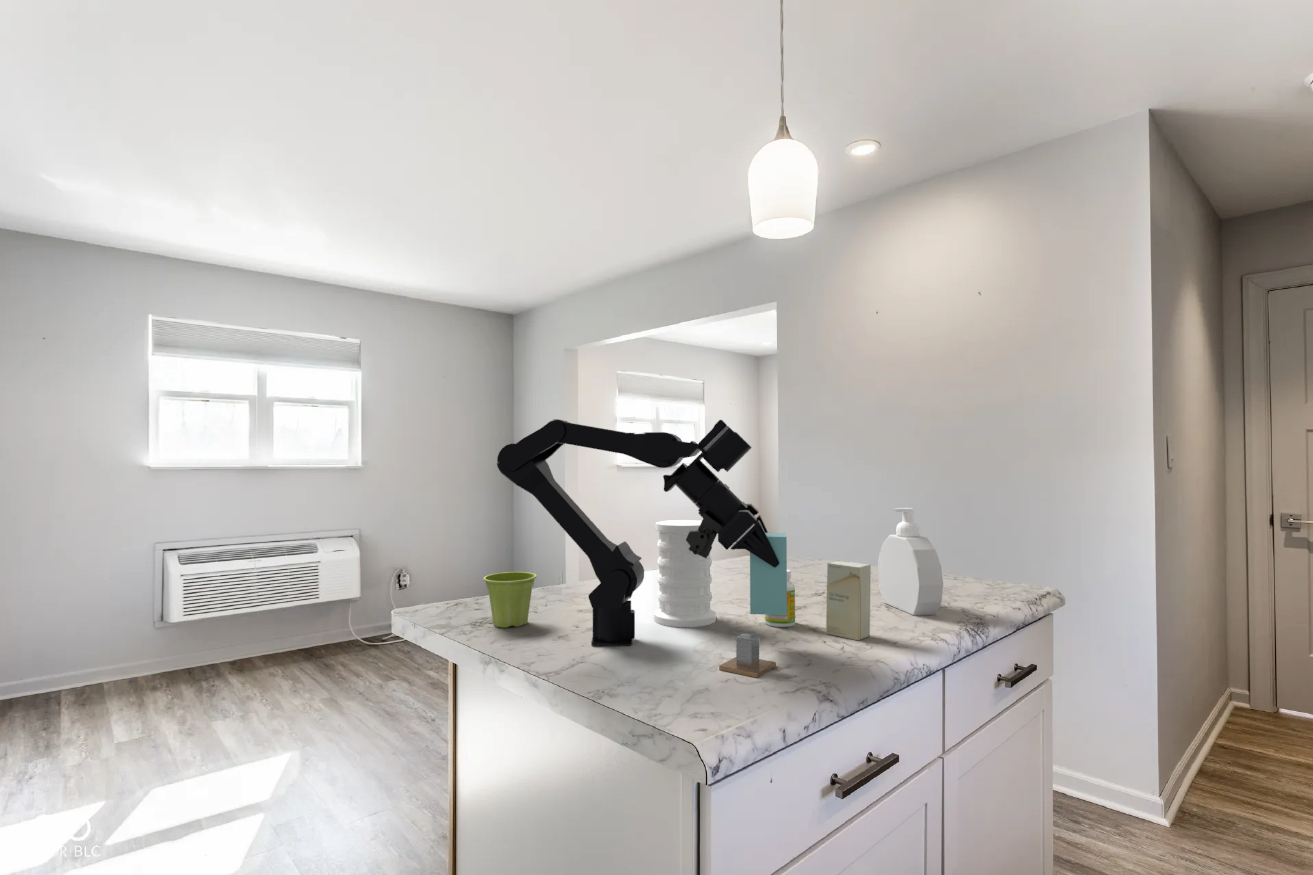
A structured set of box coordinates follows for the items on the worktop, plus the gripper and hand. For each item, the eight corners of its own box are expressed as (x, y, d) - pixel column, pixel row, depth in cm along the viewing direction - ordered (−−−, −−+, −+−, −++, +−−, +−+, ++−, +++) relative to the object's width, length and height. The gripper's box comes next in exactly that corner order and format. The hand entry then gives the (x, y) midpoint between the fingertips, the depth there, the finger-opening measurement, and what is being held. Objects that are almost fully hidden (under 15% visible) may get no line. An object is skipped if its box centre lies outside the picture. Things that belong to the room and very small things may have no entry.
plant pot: (515, 633, 115) (515, 582, 115) (472, 627, 119) (472, 578, 119) (546, 620, 124) (546, 573, 124) (505, 615, 128) (506, 570, 128)
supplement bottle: (795, 628, 118) (794, 573, 118) (764, 626, 119) (764, 572, 119) (795, 621, 123) (794, 568, 123) (765, 619, 124) (765, 567, 124)
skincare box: (825, 634, 114) (824, 562, 114) (838, 629, 117) (837, 559, 117) (860, 641, 109) (859, 566, 110) (872, 635, 113) (871, 563, 113)
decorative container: (707, 629, 117) (707, 526, 118) (645, 624, 121) (645, 524, 121) (721, 614, 128) (721, 520, 129) (664, 610, 132) (664, 519, 132)
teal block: (750, 613, 103) (749, 536, 104) (751, 605, 109) (751, 532, 109) (787, 615, 102) (786, 537, 103) (786, 607, 108) (785, 532, 108)
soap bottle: (876, 600, 140) (874, 505, 141) (899, 599, 141) (898, 505, 141) (918, 618, 124) (916, 511, 125) (944, 617, 125) (942, 511, 126)
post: (719, 669, 95) (719, 637, 95) (739, 659, 100) (739, 628, 100) (757, 677, 91) (757, 644, 91) (776, 666, 96) (775, 634, 96)
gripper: (680, 521, 118) (743, 586, 116) (663, 533, 99) (738, 610, 97) (725, 477, 117) (789, 541, 115) (716, 480, 98) (793, 557, 96)
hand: (777, 562), depth 106 cm, fingers closed on teal block, 6 cm apart
